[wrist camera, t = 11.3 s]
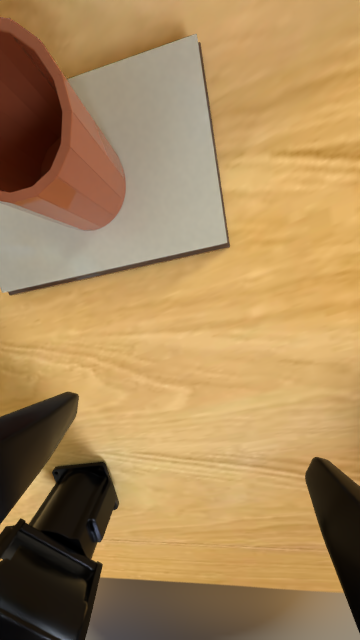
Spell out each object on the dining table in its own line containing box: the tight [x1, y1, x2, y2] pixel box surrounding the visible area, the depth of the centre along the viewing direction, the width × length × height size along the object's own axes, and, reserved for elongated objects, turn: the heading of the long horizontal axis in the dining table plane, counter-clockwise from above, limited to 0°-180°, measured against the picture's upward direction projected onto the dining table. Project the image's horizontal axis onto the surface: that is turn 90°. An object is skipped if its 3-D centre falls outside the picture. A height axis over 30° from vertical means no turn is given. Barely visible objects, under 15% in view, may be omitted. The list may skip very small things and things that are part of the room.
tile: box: [0, 34, 230, 295], centre depth 16 cm, size 21×14×2 cm, turn 102°
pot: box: [0, 17, 126, 231], centre depth 12 cm, size 7×7×7 cm
